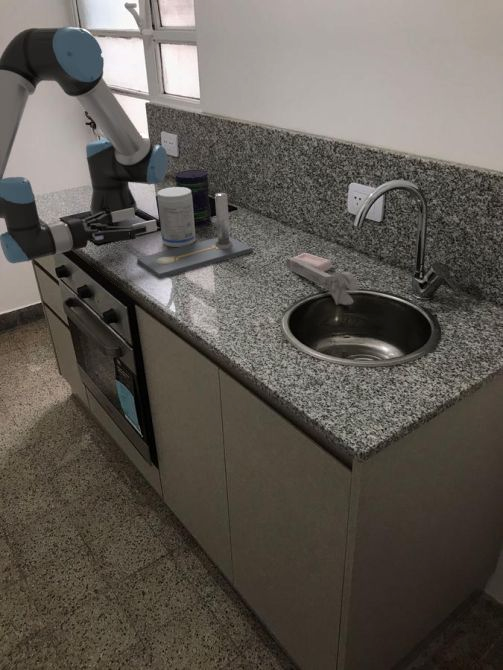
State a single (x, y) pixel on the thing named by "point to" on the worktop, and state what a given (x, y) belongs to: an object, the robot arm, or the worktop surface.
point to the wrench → (326, 280)
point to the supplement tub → (176, 216)
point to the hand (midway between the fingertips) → (144, 218)
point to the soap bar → (315, 261)
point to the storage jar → (197, 194)
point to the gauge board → (191, 257)
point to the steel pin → (222, 220)
